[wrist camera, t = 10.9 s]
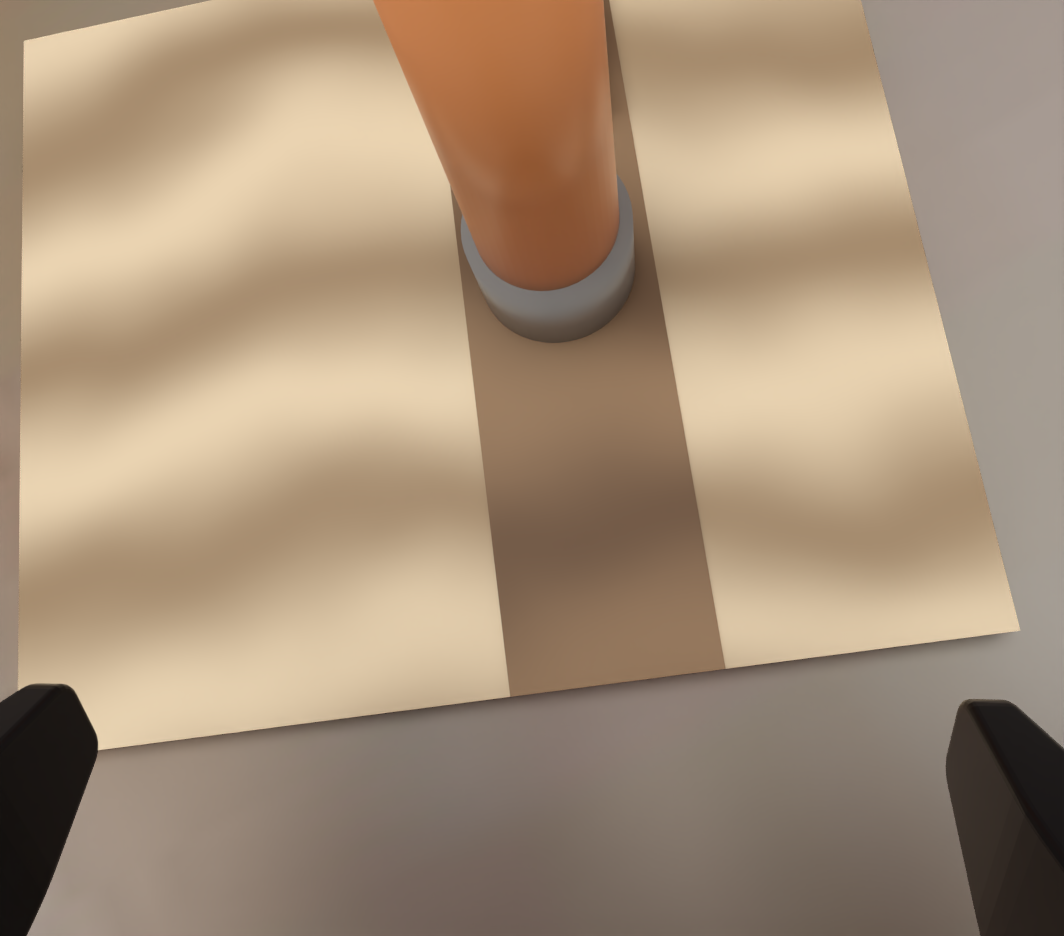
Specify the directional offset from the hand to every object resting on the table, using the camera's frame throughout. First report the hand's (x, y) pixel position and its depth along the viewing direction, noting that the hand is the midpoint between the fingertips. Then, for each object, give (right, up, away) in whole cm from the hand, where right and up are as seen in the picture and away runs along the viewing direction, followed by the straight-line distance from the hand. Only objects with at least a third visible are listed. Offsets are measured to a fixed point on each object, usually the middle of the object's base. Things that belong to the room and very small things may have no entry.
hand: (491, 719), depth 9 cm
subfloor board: (-2, +7, +16) cm, 17 cm away
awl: (+1, +8, +14) cm, 16 cm away
